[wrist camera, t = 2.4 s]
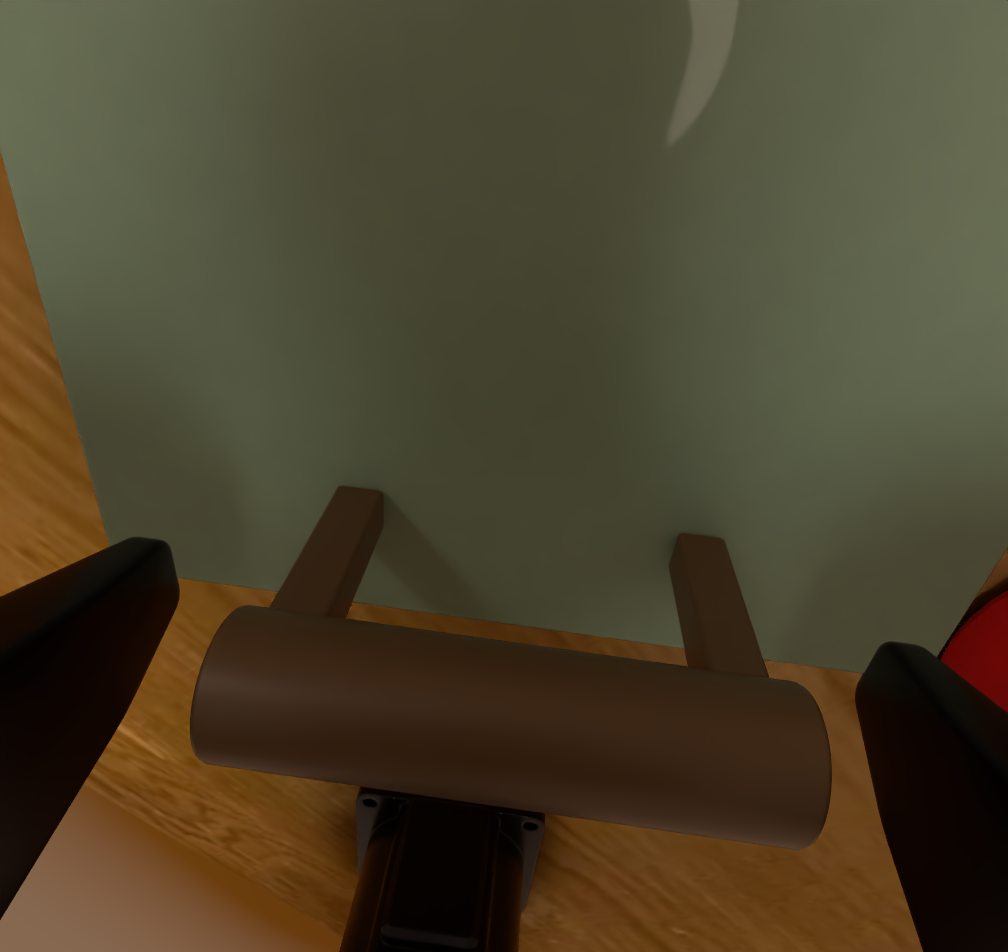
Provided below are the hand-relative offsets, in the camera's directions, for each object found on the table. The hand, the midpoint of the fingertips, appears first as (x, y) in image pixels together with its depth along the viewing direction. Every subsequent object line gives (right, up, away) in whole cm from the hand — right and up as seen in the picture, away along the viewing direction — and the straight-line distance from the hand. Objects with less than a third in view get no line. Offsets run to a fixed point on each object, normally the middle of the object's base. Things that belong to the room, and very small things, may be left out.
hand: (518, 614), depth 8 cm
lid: (+1, +5, 0) cm, 5 cm away
